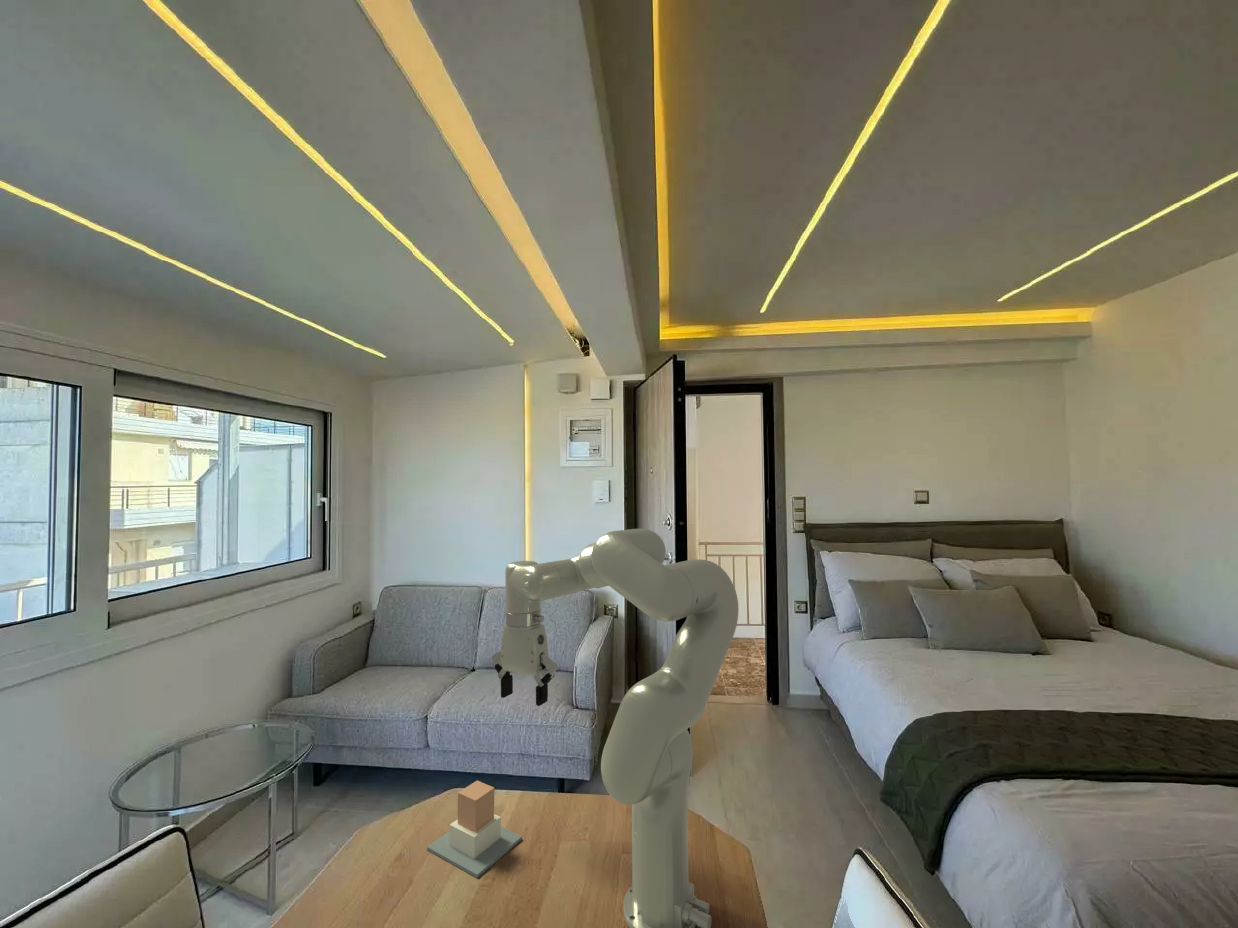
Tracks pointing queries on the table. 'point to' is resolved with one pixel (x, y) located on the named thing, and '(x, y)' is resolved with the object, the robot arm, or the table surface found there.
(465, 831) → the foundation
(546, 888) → the table surface
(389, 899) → the table surface
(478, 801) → the terracotta block
